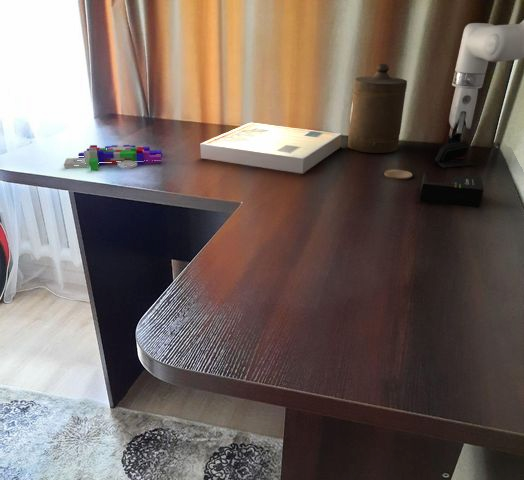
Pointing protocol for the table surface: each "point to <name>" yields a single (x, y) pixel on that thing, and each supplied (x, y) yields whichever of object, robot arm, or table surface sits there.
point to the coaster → (398, 174)
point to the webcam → (453, 155)
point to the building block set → (114, 157)
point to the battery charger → (453, 191)
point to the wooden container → (377, 112)
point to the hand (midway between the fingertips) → (451, 153)
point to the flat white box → (272, 147)
